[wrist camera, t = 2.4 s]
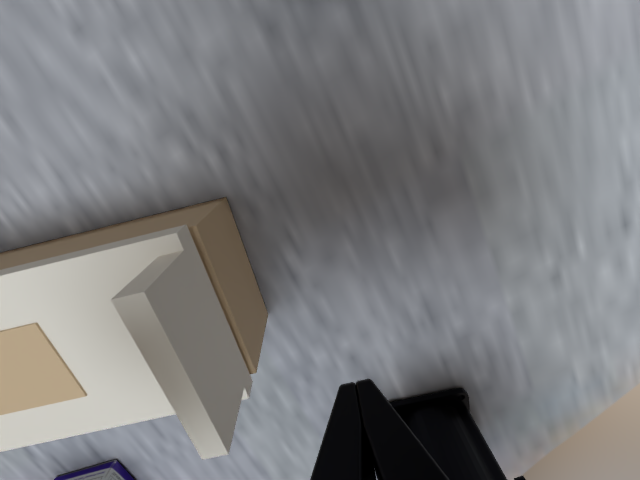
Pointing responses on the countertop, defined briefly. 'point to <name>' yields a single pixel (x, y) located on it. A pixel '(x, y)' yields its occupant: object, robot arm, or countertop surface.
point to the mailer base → (215, 252)
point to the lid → (118, 344)
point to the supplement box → (99, 473)
